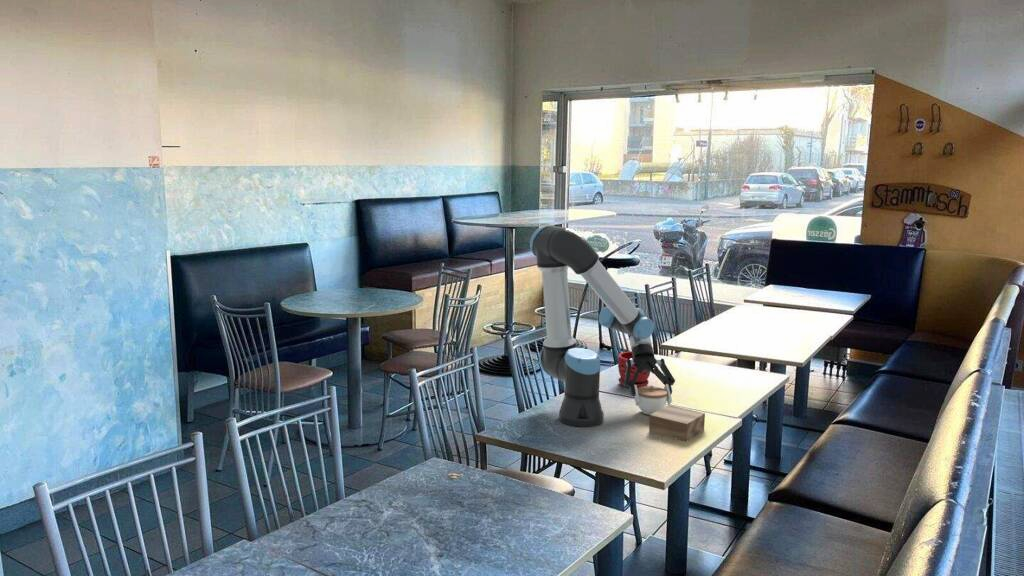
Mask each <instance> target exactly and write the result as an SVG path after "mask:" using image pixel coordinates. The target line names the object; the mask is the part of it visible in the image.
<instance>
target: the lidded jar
mask: <svg viewBox="0 0 1024 576" xmlns="http://www.w3.org/2000/svg"><path fill="white" fill-rule="evenodd" d="M637 390H638V394H639V399H640V403H639V405H638V406H637V407H638V409H640V411H641V413H642V414H644V415H649V416H650V414H652V413H654V412H656V411H658V410H660V409H662V408H664V407H665V406H667V393H668V392H667V391H666V390H665V389H664V387H663V388H662V387H659V386H654V385H650V386H649V385H646V386H644V387H639V388H637Z"/></svg>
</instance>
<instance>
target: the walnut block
mask: <svg viewBox="0 0 1024 576" xmlns="http://www.w3.org/2000/svg"><path fill="white" fill-rule="evenodd" d="M705 418H706V412H701V411H696V410H692V409H687V408H683V407H679V406H675V405H671V404H666V405H665V407H664V408H662V409H660V410H658V411H656V412H654V413H652V414H650V415H649V424H648V425H649V427H648V428H649V429H648V430H649V431H648V432H649V433H652V434H657V435H660V436H664V437H667V436H668V438H671V437H672V439H675V438H677V439H676V440H679V439H680V441H683V440H684V442H688V441H689V440H690V438H691V439H692V438H693V436H694V437H695V436H697V435H699V434H701V433H702V432H703V431H705V423H706V422H705V421H706V419H705ZM701 431H702V432H701ZM698 433H699V434H698ZM696 434H697V435H696ZM687 440H688V441H687Z"/></svg>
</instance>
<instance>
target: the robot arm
mask: <svg viewBox="0 0 1024 576" xmlns="http://www.w3.org/2000/svg"><path fill="white" fill-rule="evenodd" d="M529 248H530V251H531V253H532V254H533V256H534V257H536V265H537V268H538V269H539V270H540V271H541V274H542V277H541V278H542V289H543V300H544V301H543V302H544V303H543V304H544V313H545V327H546V328H545V330H546V338H545V340H544V341H543V342H542V345H543V346H542V347H541V350H540V351H539V354H538V355H539V356H538V363H539V365H540V368H541V370H542V371H543V372H544V373H545V374H546V375H548V376H550V377H551V378H553V379H556V380H558V381H560V382H562V383H563V384H564V397H563V400H562V403H561V406H560V409H559V411H558V420H559V422H561V423H563V424H565V425H568V426H572V427H578V428H579V427H580V428H581V427H582V428H583V427H585V428H586V427H594V426H598V425H601V424H602V423H603V422H604V421H605V418H604V417H605V416H604V415H605V414H604V411H603V407H602V405H601V404H602V403H601V400H600V380H601V379H600V377H601V359H600V356H599V354H598V353H597V352H596V351H593V350H592V349H590V348H583V347H578V346H577V340H576V338H574V337H573V336H572V326H571V323H572V322H571V310H570V309H571V307H570V295H569V294H570V293H569V282H568V281H569V280H568V269H569V268H570V269H571V270H572V271H573V272H574V273H575V274H576V275H578V276H579V275H580V276H581V277H582V278H583V280H584V281H585V282H586V283H587V284H588V285H589V286H590V288H591V289H592V290H593V291H594V293H595V294H596V295H597V296H598V298H599V299H600V300H601V301H602V303H603V304H605V306H604V307H603V308H602V309H601V310H600V313H599V315H598V323H599V324H600V326H602V327H605V328H606V329H611V330H615V331H617V332H620V333H622V334H626V335H627V336H628V341H629V345H630V348H631V352H632V355H633V359H634V360H632V359H628V360H627V361H626V374H625V380H624V387H625V388H626V387H627V388H628V389H629V390H630V391H629V392H630V396H632V397H634V403H635V406H637V407H638V405H639V403H640V399H639V394H638V390H637V385H634V383H635V381H636V379H637V377H638V375H639V373H640V371H642V372H650V373H652V374H653V375H654V376H656V377H657V378H658V379H659V381H660V382H661V383H662V384H663V385H664V386H663V389H665V390H666V391H667V392H668V393H667V401H666V404H667V405H671V403H672V402H673V399H672V394H673V388H672V386H673V385H674V384H675V383H676V379H675V377H674V376H673V375H672V373H671V371H670V369H669V368H668V366H667V364H666V362H665V359H664V358H661V359H657V358H656V357H655V353H654V349H653V346H652V345H653V344H652V339H651V336H652V334H653V332H654V329H655V325H654V322H653V320H652V319H650V318H649V317H647V316H646V315H645V312H644V310H642V308H639V307H636V305H634V303H633V302H632V300H630V298H629V296H627V294H626V293H625V292H624V290H623V289H622V288H621V287H620V285H619V284H618V283H617V282H616V281H615V279H614V278H613V277H612V275H611V274H610V272H608V270H607V269H606V268H605V266H604V265H603V264H602V263H601V262H600V261H601V260H599V259H600V256H599V255H600V254H598V253H597V251H596V250H595V249H594V248H593V246H592V245H591V244H590V243H589V242H588V240H586V238H585V237H584V236H583V235H582V234H581V233H580V232H578V231H576V229H573V228H570V227H563V226H557V225H550V224H549V225H542V226H540V227H538V228H537V229H536V230H535V231H534V232H533V233H532V235H531V237H530V241H529ZM630 360H632V361H630ZM633 364H634V365H635V366H636V367H637V370H636V373H635V375H634V377H633V379H632V381H631V382H629V378H630V372H631V367H632V365H633ZM657 365H658V366H657Z"/></svg>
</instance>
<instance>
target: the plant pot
mask: <svg viewBox="0 0 1024 576" xmlns="http://www.w3.org/2000/svg"><path fill="white" fill-rule="evenodd" d="M628 359H629V360H630V361H632V360H634V359H633V355H632V351H623V352H621V353H619V354H618V359H617V361H618V362H617V366H618V367H617V368H618V373H619V378H618V382H619V384H620V385H621V386H624V380H625V374H626V361H627V360H628ZM636 370H637V367H636V366H635V365H634V364H633V365H632V367H631V372H630V378H629V382H631V381H632V379H633V377H634V375H635V373H636ZM650 374H651V371H650V372H642V371H640V373H639V375H638V377H637V379H636V381H635V383H634V385H637V388H639V387H644V386H648V384H649V380H648V379H649V377H650ZM624 387H625V386H624Z"/></svg>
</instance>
